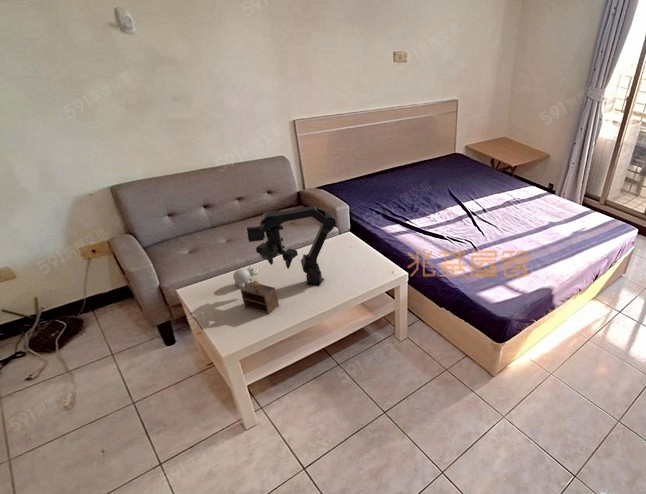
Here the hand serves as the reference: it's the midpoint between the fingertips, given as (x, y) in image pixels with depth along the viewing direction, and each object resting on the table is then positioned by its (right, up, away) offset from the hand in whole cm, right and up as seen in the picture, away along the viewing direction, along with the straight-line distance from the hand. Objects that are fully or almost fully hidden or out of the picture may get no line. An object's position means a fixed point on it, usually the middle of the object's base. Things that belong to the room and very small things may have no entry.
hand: (280, 266), depth 197 cm
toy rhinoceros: (-20, -8, +9) cm, 24 cm away
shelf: (-4, -11, -7) cm, 14 cm away
